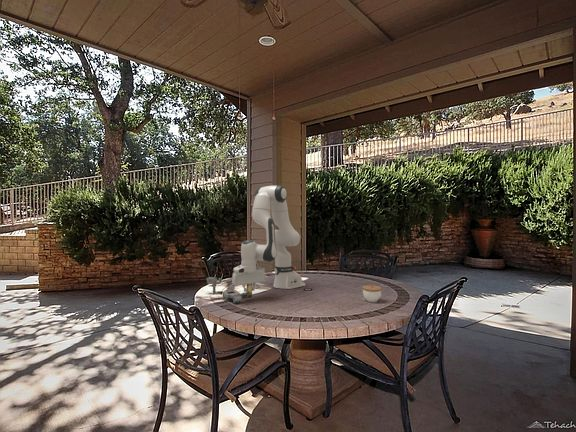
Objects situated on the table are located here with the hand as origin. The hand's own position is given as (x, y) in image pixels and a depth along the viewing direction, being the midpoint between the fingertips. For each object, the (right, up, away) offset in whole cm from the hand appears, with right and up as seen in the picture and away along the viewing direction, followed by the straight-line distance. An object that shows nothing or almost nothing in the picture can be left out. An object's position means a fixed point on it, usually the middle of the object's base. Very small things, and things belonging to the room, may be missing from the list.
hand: (249, 291), depth 198 cm
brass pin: (0, -3, 0) cm, 3 cm away
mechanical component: (-24, -5, +16) cm, 30 cm away
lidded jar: (+72, -5, -2) cm, 72 cm away
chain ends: (-6, -6, +1) cm, 8 cm away
